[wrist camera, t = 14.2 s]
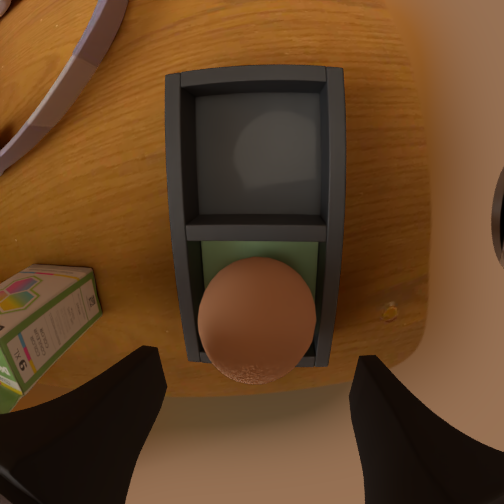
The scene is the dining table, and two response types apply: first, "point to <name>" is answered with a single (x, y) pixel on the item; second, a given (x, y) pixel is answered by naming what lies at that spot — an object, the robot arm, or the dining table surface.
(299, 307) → the egg
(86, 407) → the robot arm
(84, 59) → the headphones
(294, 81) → the divided tray
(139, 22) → the dining table surface
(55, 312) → the ink box
